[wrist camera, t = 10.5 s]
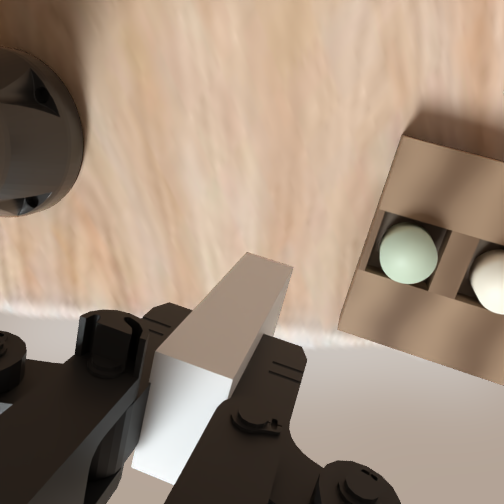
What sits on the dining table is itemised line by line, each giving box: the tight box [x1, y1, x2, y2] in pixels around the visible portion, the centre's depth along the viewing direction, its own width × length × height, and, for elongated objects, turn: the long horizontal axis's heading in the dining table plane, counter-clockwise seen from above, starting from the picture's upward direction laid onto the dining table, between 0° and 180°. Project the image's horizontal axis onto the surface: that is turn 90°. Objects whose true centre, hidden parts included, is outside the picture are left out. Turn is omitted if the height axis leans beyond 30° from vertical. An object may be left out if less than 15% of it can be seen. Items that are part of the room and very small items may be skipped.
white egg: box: [469, 249, 504, 315], centre depth 35 cm, size 4×4×3 cm
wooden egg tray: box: [337, 135, 504, 386], centre depth 37 cm, size 20×16×3 cm
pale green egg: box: [380, 222, 438, 284], centre depth 36 cm, size 4×4×3 cm
